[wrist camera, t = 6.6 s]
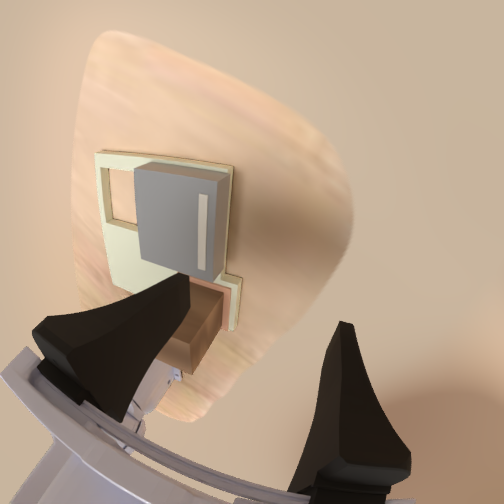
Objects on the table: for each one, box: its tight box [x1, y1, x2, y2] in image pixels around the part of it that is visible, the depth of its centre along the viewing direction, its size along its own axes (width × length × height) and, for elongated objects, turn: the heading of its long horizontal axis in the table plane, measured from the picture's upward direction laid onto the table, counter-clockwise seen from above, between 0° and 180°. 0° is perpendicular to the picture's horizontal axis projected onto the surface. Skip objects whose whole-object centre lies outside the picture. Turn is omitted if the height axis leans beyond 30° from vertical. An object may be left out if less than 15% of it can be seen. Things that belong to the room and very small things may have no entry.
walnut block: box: [155, 282, 224, 375], centre depth 22 cm, size 4×4×6 cm
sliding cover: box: [134, 162, 231, 283], centre depth 19 cm, size 8×6×2 cm
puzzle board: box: [94, 151, 242, 331], centre depth 23 cm, size 14×14×1 cm
